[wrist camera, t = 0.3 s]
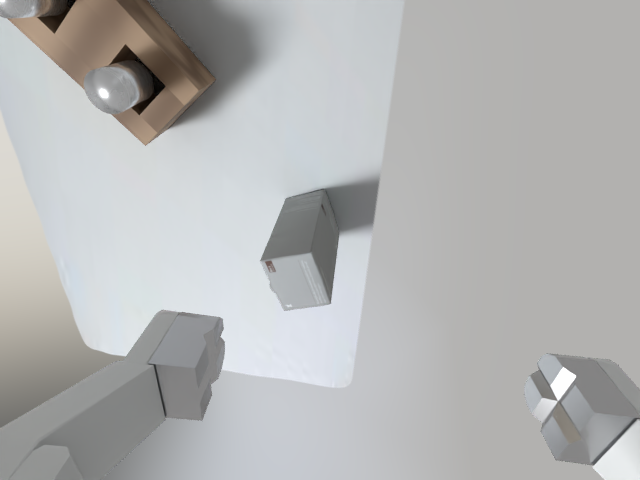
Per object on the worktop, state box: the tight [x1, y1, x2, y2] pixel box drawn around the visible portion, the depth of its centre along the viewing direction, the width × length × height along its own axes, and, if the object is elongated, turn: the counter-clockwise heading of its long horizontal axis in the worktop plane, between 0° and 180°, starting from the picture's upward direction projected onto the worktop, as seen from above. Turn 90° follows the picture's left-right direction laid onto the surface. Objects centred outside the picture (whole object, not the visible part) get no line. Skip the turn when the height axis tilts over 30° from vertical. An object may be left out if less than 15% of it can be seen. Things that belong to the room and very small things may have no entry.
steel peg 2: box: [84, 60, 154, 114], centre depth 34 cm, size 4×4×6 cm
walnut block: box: [7, 0, 216, 146], centre depth 36 cm, size 20×10×6 cm, turn 39°
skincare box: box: [260, 190, 339, 311], centre depth 45 cm, size 8×7×16 cm
